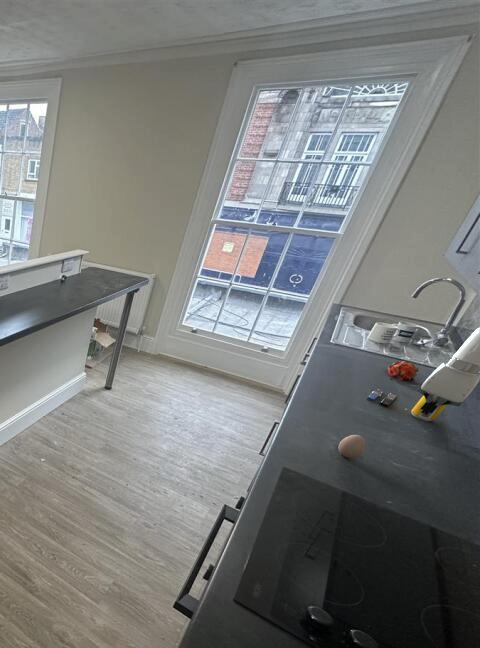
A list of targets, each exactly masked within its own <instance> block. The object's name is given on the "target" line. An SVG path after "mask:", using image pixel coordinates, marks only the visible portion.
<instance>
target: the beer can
mask: <svg viewBox="0 0 480 648" xmlns="http://www.w3.org/2000/svg"><path fill="white" fill-rule="evenodd" d="M422 395H423V394H422ZM441 398H442V397H439V396H436V395H435V396H434V398H433V403H435V402H436V401H438V400H440V399H441ZM425 402H426V399H425V397H424V395H423V396H421V398H420V399H419V400H418V401H417V403H416V404H415V405H414V407H412V409H411V410H410V411H411V415H412V416H413V417H415V418H417V419H419V420H422V421H426V422H431V421H434V420H436V419H437V417H438V416H439V415H440V414H441V413H442V412H443V410H445V408H446V407H447V406H448V405H441V406H438V407H437V408H436V409H435V410H434V412H433V413H428V414H427V415H426V414H424V413H425V412H426V411H427V410H426V411H425V412H424V413H421V411H422V409H420V408H421V407H422V406H423V405H424V404H425ZM433 403H432V404H433ZM432 404H431V405H432Z"/></svg>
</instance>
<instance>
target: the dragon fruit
mask: <svg viewBox="0 0 480 648" xmlns="http://www.w3.org/2000/svg"><path fill="white" fill-rule="evenodd" d="M386 369H387V374H388V375H389V376H390V377H391V378H395V379H396V380H398V381H403V380H405V381H407V382H413V381H415V380H416V376H417V373H418V372H419V371H420V369H419V368H418V367H416V365H415V364H414V363H412V362H409V361H406V360H403V361H401V362H400V361H396V362H393V363H392V364H391V365H389V366H388V367H387V368H386Z"/></svg>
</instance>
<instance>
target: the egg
mask: <svg viewBox="0 0 480 648" xmlns="http://www.w3.org/2000/svg"><path fill="white" fill-rule="evenodd" d="M366 448H367V442H366V439H365V438H364V437H363V436H362V435H359V434H350V435H348V436H346V437H344V438H342V439H341V441H340V442H339V444H338V452H339V454H340V455H341V456H342V455H343V456H342V457H344V458H346V457H347V459H355V458H358V457H360V456H362V455H363V454H364V452H365V451H366Z"/></svg>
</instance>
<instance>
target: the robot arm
mask: <svg viewBox="0 0 480 648" xmlns="http://www.w3.org/2000/svg"><path fill="white" fill-rule="evenodd" d="M479 383H480V327H478V328H476V329H475V330H474V331H473V332H472V333H471V334H470V335H469V336H468V338H467V339H466V340H465V341H464V343H463V344H462V345H461V346H460V347H459V348H458V350H457V351H456V352H455V353H454V354H453V355H452V356H451V358H450V359H449V360H448V362H442V363H441V364H440V365H439V366H438V367H437V368H435V370H433V372H432V373H430V374H429V376H428V377H427V378H426V379H425V380H424V381H423V383H422V384H421V385H420V386H419V387H418V388H416V392H418V393H420V394H421V395H424V397H425V399H426V402H425V404H424V405H423V406H422V407H421V408H420V409H422V411H421V413H424V412H425V411H426V410H427V411H426V412H425V413H424V414H426V415H427V414H428V413H433V412H434V410H435V409H436V408H437V407H438V406H441V405H447V406H448V405H450V406H453V407H454V406H455V407H461V406H462V403H463V401H465V400H466V398H467V397H468V396H469V395H470V394H471V393H472V392H473V390H474V389H475V388H476V387H477V385H478V384H479ZM435 395H436V396H439V397H442V398H441V399H440V400H438V401H436V402H435V403H433V398H434V396H435ZM432 403H433V404H432ZM431 404H432V405H431Z"/></svg>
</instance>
